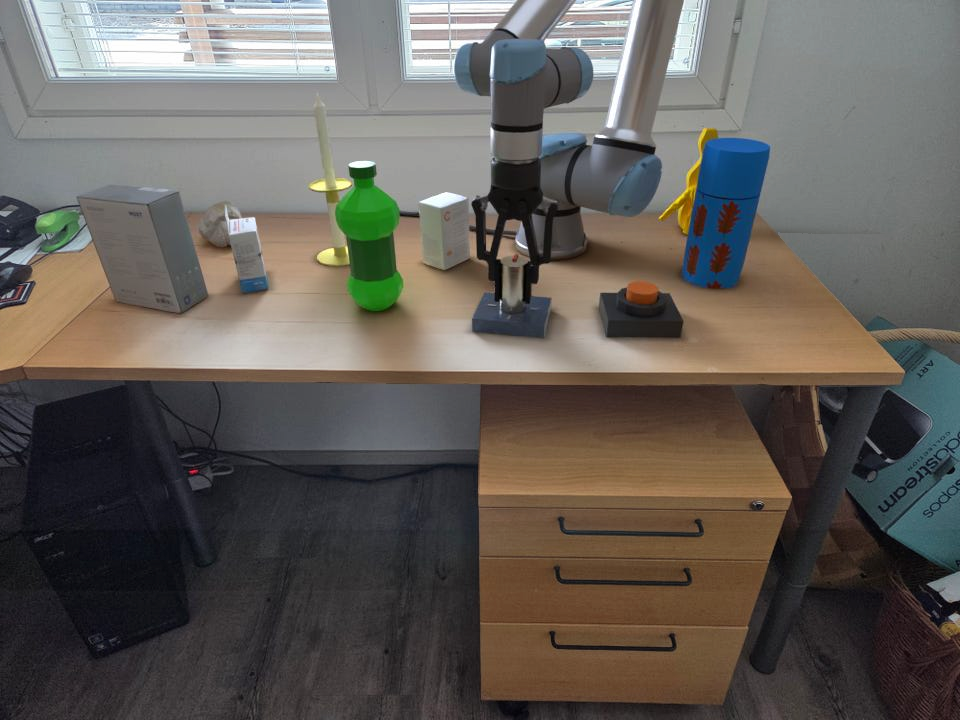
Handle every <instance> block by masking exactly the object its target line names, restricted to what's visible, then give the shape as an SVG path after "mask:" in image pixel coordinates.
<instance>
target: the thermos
mask: <svg viewBox="0 0 960 720" xmlns="http://www.w3.org/2000/svg"><path fill="white" fill-rule="evenodd" d="M770 154H771V146H770V145H769V144H768V143H766V142H763V141H760V140H755V139H752V138H751V139H750V138H744V137H743V138H742V137H718V138H716V139H711V140H708V141H707V142H706V144H705V147H704V150H703V154H702V159H701V165H700V170H699V176H698V181H697V188H696V193H695V198H694V204H693V209H692V215H691V220H690V226H689V231H688V235H687V236H686V243H685V247H684V248H685V249H684V253H683V261H682V262H683V263H682V269H681V276H682V278H683V279H684V280H685V281H686V282H687V283H689V284H691V285H693V286H697V287H700V288H703V289H711V290H723V289H730V288H733V287H735V286H737V285H738V283H739V280H740V277H741V274H742V272H743V271H742V270H743V267H744V264H745V260H746V256H747V252H748V248H749V243H750V240H751V235H752V231H753V227H754V223H755V218H756V214H757V211H758V206H759V201H760V199H761V193H762V189H763V185H764V181H765V177H766V172H767V168H768V165H769V160H770Z"/></svg>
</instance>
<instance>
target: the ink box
mask: <svg viewBox="0 0 960 720" xmlns="http://www.w3.org/2000/svg"><path fill="white" fill-rule="evenodd" d="M225 220H226V225H227V230H228V235H229V239H230V243H231V245H230V247H231V252H232V256H233V259H234V263H235V268H236V273H237V276H238V280H239V285H240V289H241V293H242V294H247V293H253V292H261V291H267V290H269V283H268V276H267V271H266V266H265V261H264V256H263V251H262V246H261V245H262V244H261V240H260V236H259V231H258V226H257V221H256V217H254V216H252V217H251V216H250V217H242V218H241V219H233V220H229V217H228V213H227V208H226V205H225Z"/></svg>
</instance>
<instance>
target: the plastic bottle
mask: <svg viewBox="0 0 960 720" xmlns="http://www.w3.org/2000/svg"><path fill="white" fill-rule="evenodd" d="M347 166H348V173H349V177H350V178H351V179H353V187H351V188H350V189H349V190H348V192H347V193H346V194H345V195H344V196H343V197H342V198H341V199H340V200H339V203H338V204H337V206H336V210H335V218H336V222H337V225H338V227H339V229H340V230H341V231H342V232H343V233H344V236H345V238H346V239H345V241H346V246H347V247H348V255H349V262H350V265H349V269H350V274H349V277H348V278H347V283H346V288H347V292H348V294H349V295H350V297H351V298H352V299H353V301H354V303H356V304H357V305H358V306H360V307H362V308H364V309H365V310H367V311H371V312H380V311H385V310H387V309H389V308H391V306H392V305H393V304H394V303H396V302H397V301H398V299H399V297H400V296H401V294H402V292H403V289H404V279H403V277H402V275H401V273H400V272H399V271H398V269H397V258H396V257H397V256H396V247H395V245H396V244H395V234H394V231H395V230H396V228H397V227H398V226H399V224H400V219H401V218H400V216H401V214H399V210H400V208H399V205H398V204H397V201H396V200H395V199H394V198H393V197H391V196H390V195H389V194H388V193H386V192H385V191H384V190H382V189H381V187H379V186H377V185H375V177H376V176H377V174H378V173H377V164H376V162H374V161H371V160H357V161H353V162H350V163H349V164H348V165H347Z"/></svg>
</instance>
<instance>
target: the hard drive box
mask: <svg viewBox="0 0 960 720" xmlns="http://www.w3.org/2000/svg"><path fill="white" fill-rule="evenodd" d="M76 200H77V202H78V205H79V208H80V211H81V213H82V216H83V218H84V222H85V224H86V226H87V229H88V232H89V234H90V238H91V239H92V243H93V245H94V248H95V251H96V253H97V256H98V258H99V261H100V264H101V267H102V269H103V272H104V274H105V277H106V280H107V282H108V285H109V288H110V290H111V294H112V296H113V298H114V301H115V302H117V303H122V304H126V305H131V306H138V307H142V308H143V307H144V308H150V309H153V310H154V309H156V310H159V311H163V312H171V313H176V314H181V313H184V312H185V311H186V310H188V309H190V308H191V307H193V306H195V305H196V304H197V303H200V302H201V301H203V300H205V299H206V298H208V297H209V291H208V287H207V286H206V282H205V277H204V274H203V270H202V268H201V264H200V259H199V257H198V253H197V249H196V246H195V243H194V239H193V236H192V232H191V229H190V225H189V222H188V218H187V214H186V211H185V208H184V205H183V200H182V197H181V194H180V190H176V189H172V190H171V189H167V188H166V189H165V188H156V187H143V186H130V185H120V184H108V185H105V186H101V187H99V188H96V189H93V190H90V191H88V192H84V193H81V194H79V195H77V196H76Z"/></svg>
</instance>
